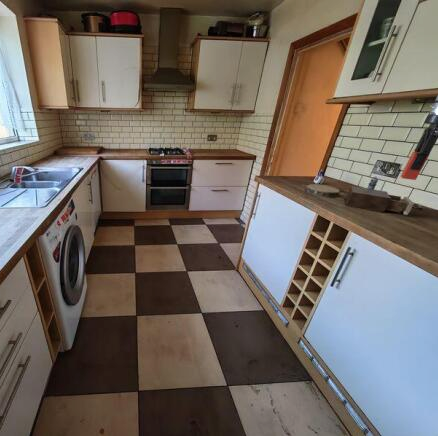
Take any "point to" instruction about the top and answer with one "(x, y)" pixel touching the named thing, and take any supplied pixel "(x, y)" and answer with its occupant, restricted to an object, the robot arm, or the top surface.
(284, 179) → the top surface
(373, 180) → the salt shaker
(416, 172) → the tea box
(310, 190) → the round wood slice
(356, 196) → the dark wooden block
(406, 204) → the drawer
